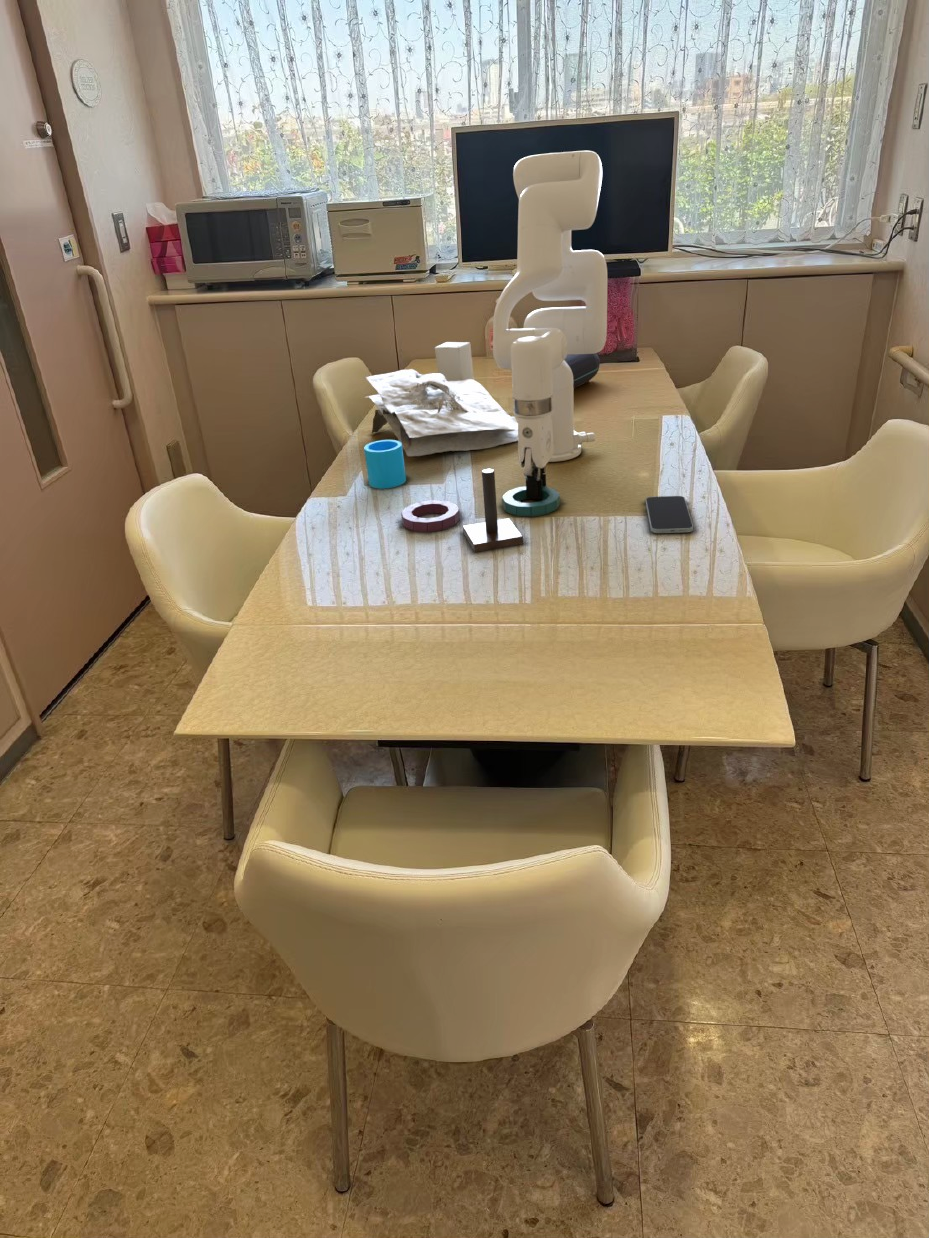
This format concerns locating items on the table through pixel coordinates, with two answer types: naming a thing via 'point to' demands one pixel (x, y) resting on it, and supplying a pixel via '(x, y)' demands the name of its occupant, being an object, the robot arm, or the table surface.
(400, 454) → the mug
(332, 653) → the table surface
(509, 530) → the peg stand
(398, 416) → the plastic wrap
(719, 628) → the table surface
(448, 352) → the cosmetic box
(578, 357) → the portable speaker
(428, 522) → the plum ring
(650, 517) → the smartphone
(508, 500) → the teal ring
